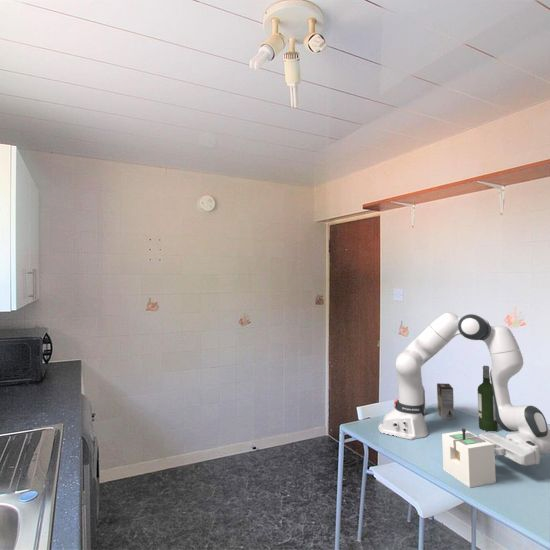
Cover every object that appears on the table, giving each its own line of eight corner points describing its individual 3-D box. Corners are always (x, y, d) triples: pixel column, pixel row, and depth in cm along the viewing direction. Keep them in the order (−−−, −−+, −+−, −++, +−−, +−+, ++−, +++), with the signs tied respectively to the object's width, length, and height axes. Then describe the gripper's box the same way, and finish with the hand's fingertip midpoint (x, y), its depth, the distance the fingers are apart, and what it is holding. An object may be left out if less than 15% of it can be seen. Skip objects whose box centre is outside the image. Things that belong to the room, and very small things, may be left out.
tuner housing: (467, 465, 141) (466, 429, 142) (495, 482, 129) (494, 443, 129) (443, 469, 138) (442, 433, 139) (469, 487, 126) (468, 447, 126)
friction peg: (482, 455, 139) (480, 422, 139) (495, 462, 133) (493, 428, 134) (454, 459, 136) (453, 426, 136) (466, 467, 130) (465, 432, 130)
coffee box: (437, 412, 199) (436, 383, 200) (450, 413, 198) (449, 383, 199) (441, 418, 190) (440, 387, 191) (454, 419, 189) (453, 388, 190)
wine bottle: (478, 424, 181) (475, 363, 182) (496, 427, 178) (494, 365, 179) (479, 430, 174) (477, 367, 175) (499, 433, 171) (496, 368, 171)
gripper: (494, 427, 150) (466, 431, 146) (542, 448, 130) (511, 453, 127) (495, 442, 150) (467, 447, 146) (543, 466, 130) (512, 472, 126)
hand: (488, 450), depth 136 cm, fingers closed, pressing on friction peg
